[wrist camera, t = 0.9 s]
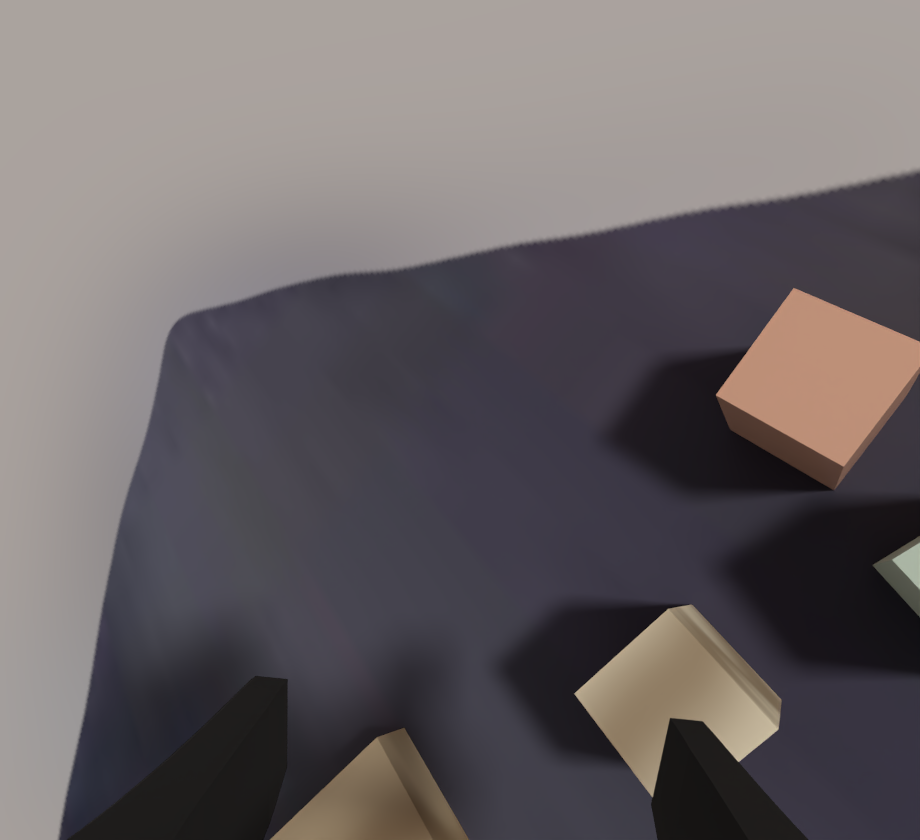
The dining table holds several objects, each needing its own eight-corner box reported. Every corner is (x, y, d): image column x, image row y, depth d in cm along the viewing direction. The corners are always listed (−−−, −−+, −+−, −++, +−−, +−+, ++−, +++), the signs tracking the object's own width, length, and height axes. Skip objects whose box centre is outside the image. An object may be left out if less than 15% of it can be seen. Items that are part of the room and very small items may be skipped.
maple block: (781, 699, 21) (778, 729, 16) (693, 772, 21) (669, 819, 17) (692, 604, 23) (668, 608, 18) (614, 674, 23) (574, 693, 19)
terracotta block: (906, 396, 21) (934, 348, 17) (833, 490, 21) (843, 466, 17) (794, 343, 23) (793, 288, 19) (730, 429, 23) (715, 395, 19)
